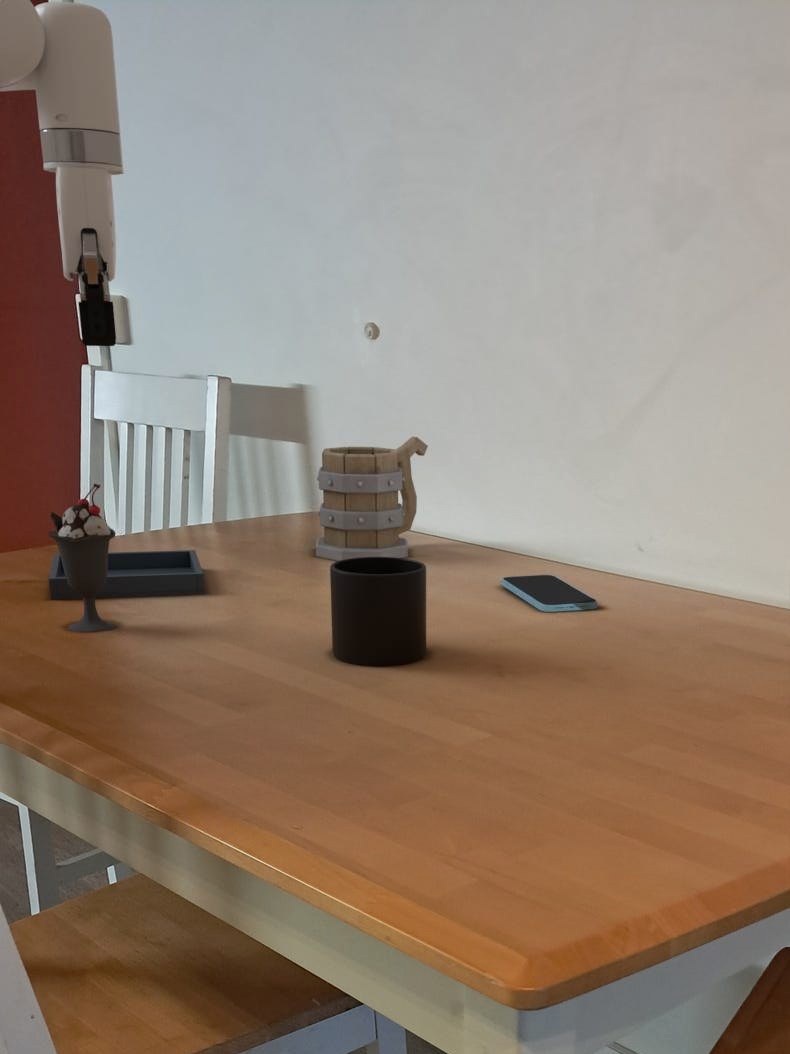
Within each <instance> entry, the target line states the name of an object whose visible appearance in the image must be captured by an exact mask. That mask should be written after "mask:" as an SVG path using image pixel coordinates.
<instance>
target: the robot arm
mask: <svg viewBox="0 0 790 1054" xmlns="http://www.w3.org/2000/svg"><path fill="white" fill-rule="evenodd" d="M115 64H116V62H115V52H114V40H113V31H112V25H111V23H110V20H109V18H108V17H107V15H106V13H104V11H102V10H101V9H99V8H97V7H95V6H93V5H90V4H89V5H88V4H85V3H80V2H79V3H78V2H70V1H48V2H42V3H40V4H36V5H34V4H33V3H32V1H31V0H0V92H13V91H34V90H35V97H36V106H37V107H36V108H37V118H38V126H39V131H40V132H39V134H40V135H39V136H40V144H41V154H42V163H43V171H45V172H49V173H55V193H56V207H57V208H56V210H57V219H58V229H59V237H60V248H61V258H62V269H63V270H62V271H63V277H64V278H65V279H66V280H67V281H68V282H69V281H70V282H73V281H74V274H76V275H78V276H77V278H78V285H79V286H78V287H79V299H80V301H77V303H78V311H79V320H80V321H79V322H80V333H81V342H82V344H83V345H84V346H86V347H115V346H116V344H117V333H116V322H115V321H116V320H115V309H114V301H111V293H110V282H113V280H115V278H116V277H115V276H116V264H117V240H116V219H115V206H114V205H115V204H114V193H113V182H112V181H113V179H112V176H119V175H123V174H124V173H125V172H124V161H123V160H124V159H123V151H122V150H123V149H122V139H121V137H122V136H121V123H120V113H119V112H120V111H119V100H118V90H117V89H118V88H117V78H116V65H115Z"/></svg>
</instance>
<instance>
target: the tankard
mask: <svg viewBox="0 0 790 1054" xmlns="http://www.w3.org/2000/svg"><path fill="white" fill-rule="evenodd" d="M428 447H429V446H428V444H427V443H425V441H423V440H422V439H421V438H419V437H417V436H411V437H410V438H408V440H406V441H405V442H404V443H403V444H401V445H400V446H399V447H397V448H396V449H395V448H387V447H379V446H375V447H374V446H339V447H329V448H328V447H326V448H324V449H323V450H322V452H321V463H322V464H321V465H322V466H321V467H319V469H318V475H317V477H316V481H318V489H319V490H321V491H322V498H323V499H322V500H323V502H321V504H320V506H319V511H318V512H317V515H318V516H319V525H320V526H321V527H324V528H323V529H324V530H323V531H324V532H323V533H324V537H318V539H317V540H316V543H315V557H316V558H321V559H325V560H331V561H334V562H337V561H340V560H344V559H350V558H360V557H395V558H405V559H407V558H408V556H409V553H408V552H409V549H408V540H407V538H404V537H399V535H401V534H403V533H406V532H408V531H411V529H412V526H413V523H414V521H415V517H416V515H417V506H418V505H417V504H418V496H417V492H416V488H415V485H414V481H413V477H412V465H411V464H412V463H411V458H412V456H414V455H415V454H416V456H421V457H424V456H425V455H426V452H427V451H428ZM399 492H400V496H401V499H402V500H401V503H399Z"/></svg>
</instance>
